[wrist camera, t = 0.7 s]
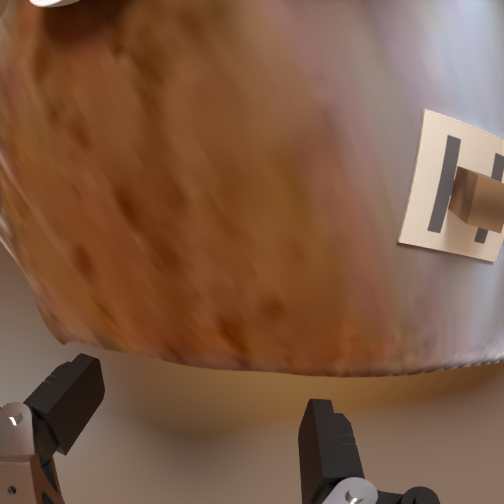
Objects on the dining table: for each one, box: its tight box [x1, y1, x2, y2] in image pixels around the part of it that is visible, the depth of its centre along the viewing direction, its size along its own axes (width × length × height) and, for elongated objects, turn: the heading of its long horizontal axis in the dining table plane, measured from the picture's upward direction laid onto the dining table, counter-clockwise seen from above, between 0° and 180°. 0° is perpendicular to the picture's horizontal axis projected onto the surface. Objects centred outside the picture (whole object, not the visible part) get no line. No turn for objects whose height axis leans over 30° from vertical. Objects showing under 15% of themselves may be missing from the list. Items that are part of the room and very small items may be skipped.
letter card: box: [398, 109, 504, 262], centre depth 27 cm, size 15×15×1 cm
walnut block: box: [448, 166, 504, 234], centre depth 24 cm, size 5×5×5 cm
